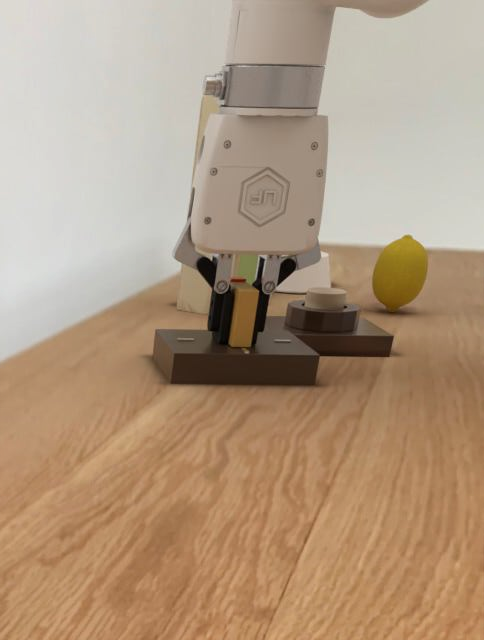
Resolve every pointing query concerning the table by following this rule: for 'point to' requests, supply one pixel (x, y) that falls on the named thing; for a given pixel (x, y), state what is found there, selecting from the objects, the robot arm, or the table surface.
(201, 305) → the toy refrigerator
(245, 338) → the lock knob
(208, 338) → the plate
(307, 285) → the inkwell
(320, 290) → the bell button
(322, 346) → the block
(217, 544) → the table surface
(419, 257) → the lemon
